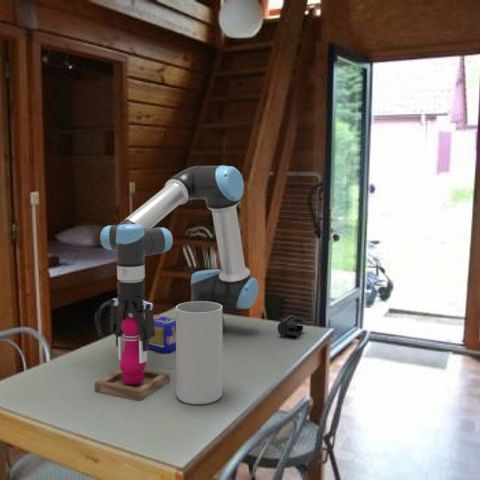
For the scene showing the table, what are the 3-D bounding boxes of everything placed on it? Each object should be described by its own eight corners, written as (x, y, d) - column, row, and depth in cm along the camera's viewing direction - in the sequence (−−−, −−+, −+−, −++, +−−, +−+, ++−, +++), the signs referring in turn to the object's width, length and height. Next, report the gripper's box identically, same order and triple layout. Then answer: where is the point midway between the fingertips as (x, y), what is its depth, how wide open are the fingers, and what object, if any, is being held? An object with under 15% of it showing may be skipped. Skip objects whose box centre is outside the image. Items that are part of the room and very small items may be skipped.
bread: (165, 355, 183) (165, 325, 182) (116, 341, 198) (115, 313, 196) (186, 347, 191) (185, 319, 190) (137, 334, 206) (136, 308, 205)
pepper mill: (136, 373, 161) (135, 306, 159) (151, 380, 156) (149, 311, 154) (115, 379, 156) (113, 311, 154) (129, 386, 151) (127, 316, 149)
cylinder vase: (179, 386, 156) (179, 301, 153) (223, 387, 156) (223, 301, 153) (173, 405, 144) (172, 312, 141) (220, 406, 144) (220, 313, 141)
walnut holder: (127, 373, 166) (127, 365, 166) (169, 381, 160) (169, 373, 160) (94, 391, 153) (94, 382, 152) (139, 401, 147) (139, 392, 146)
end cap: (285, 330, 212) (285, 313, 211) (303, 333, 209) (303, 315, 208) (277, 338, 203) (277, 320, 202) (295, 340, 200) (295, 322, 199)
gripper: (94, 279, 153) (96, 358, 156) (152, 285, 145) (154, 369, 148) (111, 274, 160) (113, 351, 163) (168, 280, 152) (169, 360, 155)
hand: (132, 359), depth 155 cm, fingers closed on pepper mill, 6 cm apart
